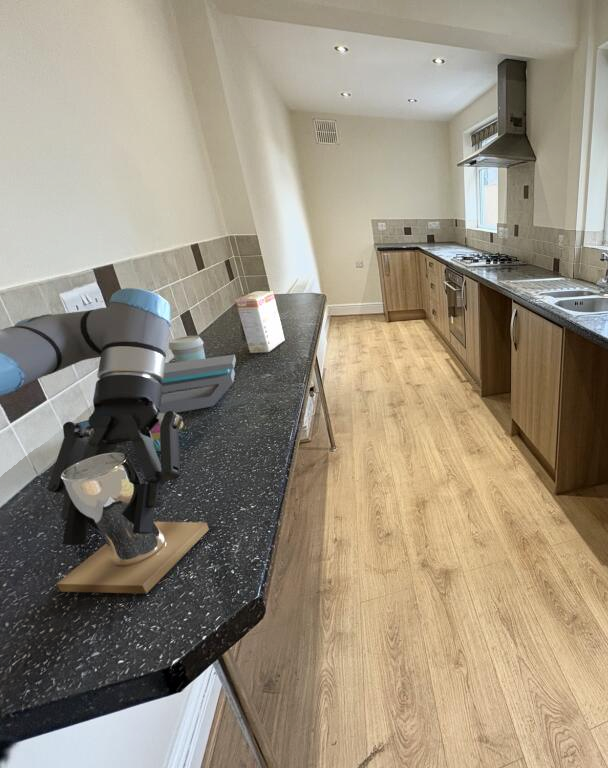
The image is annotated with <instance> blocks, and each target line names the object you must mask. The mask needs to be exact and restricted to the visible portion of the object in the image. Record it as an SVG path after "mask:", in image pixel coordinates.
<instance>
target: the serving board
mask: <svg viewBox="0 0 608 768" xmlns="http://www.w3.org/2000/svg"><path fill="white" fill-rule="evenodd" d="M153 522H154V524H155V525H156V526H157V528H158V529H159V530H160V531H161V532H162V533H163V534H164V536H165V542H164V544H163V545H162V547H161V548H160V549H159V550H158V551H157V552H155V553H154V554H153V555H151V556H149V557H148V558H146V559H144V560H142V561H139V562H137V563H134V564H130V565H116V564H114V563H113V562H112V560H111V556H110V551H109V547H108V545H107V543H106V542H105V544H104V545H103V546H102V547H100V548H99V549H98V550H96V551H95V552H94V553H93V554H91V555H90V556H89V557H87V558H86V559H85V560H83V562H82V563H79V565H77V566H76V567H75V568H74V569H73V570H71V571H70V572H69V573H68V574H66V575H65V576H64V577H63V578H61V579H60V580H59V581H58V582H57V583H56V586H57V588H58V589H59V592H61V593H62V592H65V593H103V594H105V593H107V594H108V593H109V594H148V593H149V592H150V591H151V590H152V589H153V588H154V587H155V585H156V584H157V583H159V582H160V581H161V580H162V578H164V576H166V574H167V573H168V572H169V571H170V570H171V569H173V567H175V566H176V564H177V563H178V562H179V561H180V560H181V559H182V558H183V557H184V556H185V555H186V554H187V553H188V552H189V551H190V550H191V549H192V548H193V547H194V546H195V545H196V544H198V542H199V541H200V539H202V538H203V536H205V534H207V533H208V531H209V530H210V528H209V525H208V523H207V522H196V521H195V522H191V521H185V522H184V521H153Z"/></svg>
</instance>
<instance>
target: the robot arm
mask: <svg viewBox="0 0 608 768" xmlns="http://www.w3.org/2000/svg"><path fill="white" fill-rule="evenodd" d="M108 305H109V306H107V307H99V308H95V309H89V310H79V311H74V312H73V311H72V312H65V313H56V314H51V313H48V314H42V315H39V316H34V317H33V316H32V317H30V318H25V319H21V320H20V321H18V322H16V323H15V324H14V326H9V327H5V328H2V329H0V396H4V395H7V394H11V393H13V392H15V391H16V390H17V389H19V388H20V387H23V386H26V385H28V384H30V383H32V382H34V381H36V380H39V379H41V378H43V377H47V376H48V375H52V374H54V373H57V372H58V371H61V370H65V369H66V368H68V367H70V366H73V365H75V364H77V363H80V362H82V361H87V360H91V359H97V358H99V364H98V368H97V369H98V370H97V375H96V377H97V379H98V380H97V381H96V382H95V388H94V393H93V397H92V398H93V399H92V403H93V409H94V410H93V412H92V413H91V415H90V416H89V417H88V419H86V420H83V421H79V422H73V421H67V422H65V423H64V424H63V425H62V431H63V440H62V442H61V446H60V449H59V452H58V455H57V458H56V460H55V464H54V466H53V469H52V472H51V475H50V478H49V481H48V484H47V487H46V490H47V491H48V492H50V493H57V494H60V495H61V494H62V495H63V503H62V509H61V513H60V517H61V520H64V521H66V522H65V528H64V533H63V538H62V545H64V546H81V545H86V543H87V542H86V541H87V536H88V530H89V525H90V524H89V523H88V522H87V521H86V520H85V519H84V518H83V517H82V516H81V514H80V513H79V512H78V510H77V509H76V507H75V506H74V504H73V502H72V500H71V498H70V497H69V494H68V492H67V490H66V487H65V485H64V482H63V480H62V479H61V474H62V473H63V472H64V471H65V470H66V469H67V468H69V467H70V466H72V465H73V464H75V463H77V462H79V461H82V460H84V459H87V458H89V457H92V456H96V455H99V454H103V453H109V452H113V451H114V450H115V449H116V447H117V446H118V444H122V443H125V442H126V443H127V442H132V444H133V446H134V448H135V453H136V455H137V458H138V461H139V464H140V466H141V470H142V472H143V476H144V478H143V479H142V481H144V482H146V483H144V482H143V484H139V487H138V494H137V502H136V510H135V518H134V526H133V533H140V534H148V533H152V525H153V522H154V516H155V515H154V514H155V508H158V507H159V508H160V506H161V505H162V502H163V493H164V485H165V484H166V483H167V482H168V481H171V480H173V479H178V478H179V477H181V459H180V458H181V455H180V454H181V452H180V435H179V434H180V433H179V431H180V430H179V427H180V425H181V422H182V421H183V417H182V415H180V414H178V413H174V412H172V411H168V412H166V413H162V412H160V410H159V407H160V405H161V398H162V394H163V393H162V389H163V387H162V385H161V383H162V382H163V378H164V369H165V364H166V360H167V359H166V357H167V354H166V353H167V347H168V343H169V341H168V340H169V334H170V329H171V326H172V324H171V305H170V303H169V302H168V300H166V299H165V298H163V296H161V295H159V294H158V293H155V292H154V291H150V290H147V289H143V288H135V287H127V288H120V289H118V290H117V291H115V292H114V293H112V294H111V297H110V299H109V301H108ZM158 422H159V425H161V426H160V444H161V451H160V458H159V456H158V453H157V451H156V450H155V447H154V444H153V443H154V440H153V437H152V434H151V431H150V430H151V429H152V428H153V427H154V426H155V425H156V424H157V423H158ZM91 430H93V431H94V432H93V434H92V433H91ZM178 430H179V431H178ZM90 436H91V437H90ZM88 437H90V438H89V440H88ZM87 444H88V447H87ZM86 447H87V449H86ZM85 450H86V451H85Z"/></svg>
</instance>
